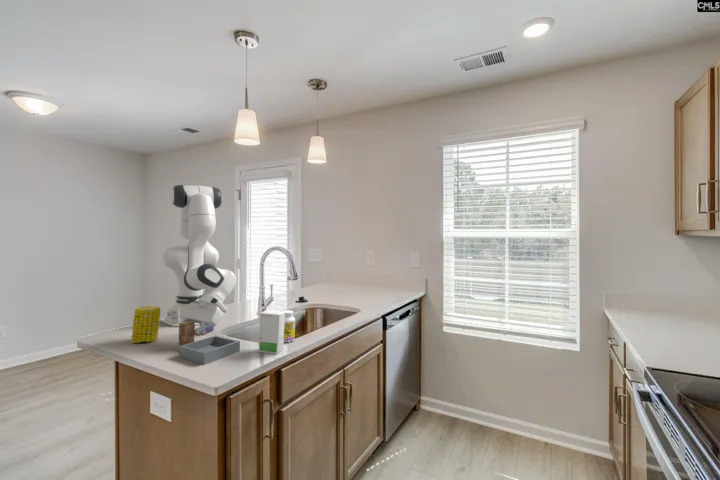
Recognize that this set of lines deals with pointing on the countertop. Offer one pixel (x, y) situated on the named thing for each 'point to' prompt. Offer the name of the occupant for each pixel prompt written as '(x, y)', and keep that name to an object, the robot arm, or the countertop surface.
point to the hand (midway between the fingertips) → (188, 331)
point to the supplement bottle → (289, 326)
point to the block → (186, 332)
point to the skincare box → (271, 331)
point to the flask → (206, 330)
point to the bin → (209, 349)
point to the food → (145, 324)
